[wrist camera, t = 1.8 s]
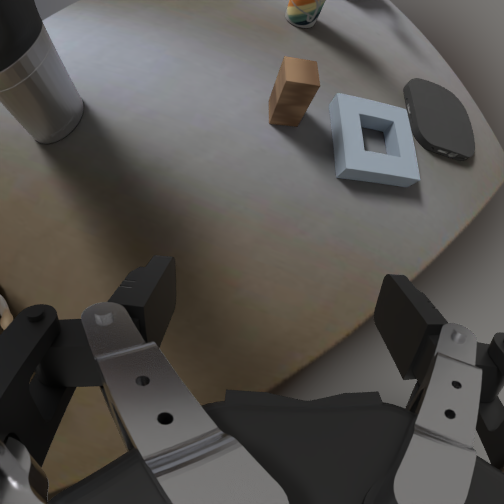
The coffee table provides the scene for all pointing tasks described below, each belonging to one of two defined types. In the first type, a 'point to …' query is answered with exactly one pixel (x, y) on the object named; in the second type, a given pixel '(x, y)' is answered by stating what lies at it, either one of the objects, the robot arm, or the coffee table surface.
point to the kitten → (5, 314)
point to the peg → (293, 91)
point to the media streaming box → (438, 120)
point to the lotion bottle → (303, 12)
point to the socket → (352, 147)
